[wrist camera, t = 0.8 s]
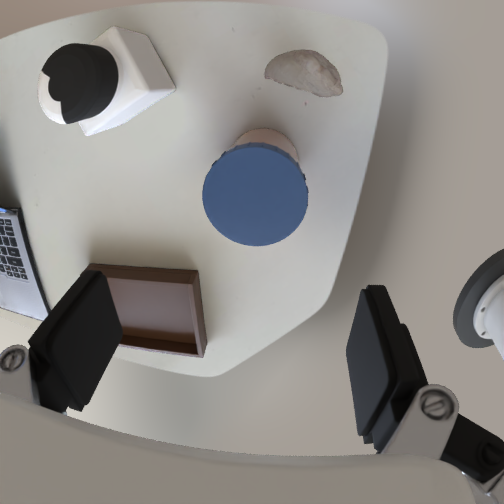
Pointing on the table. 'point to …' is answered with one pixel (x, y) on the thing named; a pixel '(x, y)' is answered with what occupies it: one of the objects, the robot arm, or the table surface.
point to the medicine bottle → (103, 81)
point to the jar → (268, 140)
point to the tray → (157, 308)
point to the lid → (255, 194)
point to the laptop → (18, 269)
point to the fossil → (305, 72)
